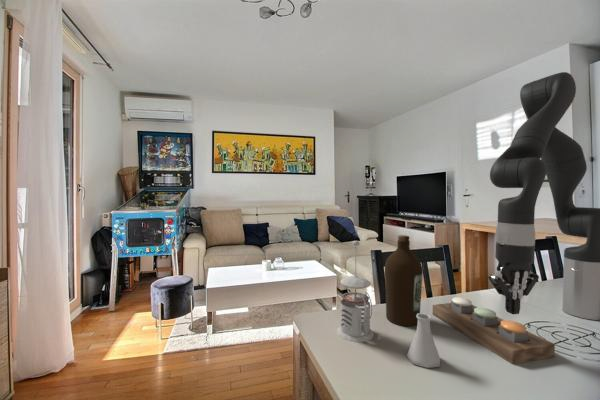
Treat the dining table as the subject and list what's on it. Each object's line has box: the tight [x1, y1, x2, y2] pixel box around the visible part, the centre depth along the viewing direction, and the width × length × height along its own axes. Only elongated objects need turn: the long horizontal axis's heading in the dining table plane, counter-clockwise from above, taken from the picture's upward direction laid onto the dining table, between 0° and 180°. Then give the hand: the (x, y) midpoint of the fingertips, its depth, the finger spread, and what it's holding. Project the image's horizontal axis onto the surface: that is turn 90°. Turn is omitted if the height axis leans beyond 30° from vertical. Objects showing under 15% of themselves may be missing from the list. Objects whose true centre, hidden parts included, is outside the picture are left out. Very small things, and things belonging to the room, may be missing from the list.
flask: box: [406, 312, 441, 369], centre depth 64 cm, size 7×7×10 cm
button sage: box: [472, 307, 498, 327], centre depth 77 cm, size 5×5×4 cm
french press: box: [336, 240, 374, 343], centre depth 76 cm, size 10×12×25 cm
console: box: [432, 302, 556, 365], centre depth 77 cm, size 12×26×3 cm, turn 13°
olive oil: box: [384, 234, 424, 327], centre depth 84 cm, size 11×11×25 cm
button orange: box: [499, 319, 529, 343], centre depth 69 cm, size 5×5×4 cm
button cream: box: [450, 296, 473, 314], centre depth 84 cm, size 5×5×4 cm
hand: (512, 312), depth 69 cm, fingers closed
